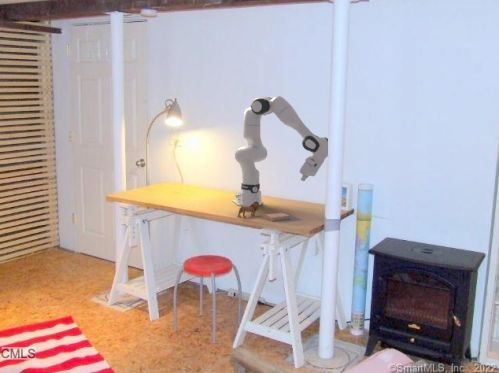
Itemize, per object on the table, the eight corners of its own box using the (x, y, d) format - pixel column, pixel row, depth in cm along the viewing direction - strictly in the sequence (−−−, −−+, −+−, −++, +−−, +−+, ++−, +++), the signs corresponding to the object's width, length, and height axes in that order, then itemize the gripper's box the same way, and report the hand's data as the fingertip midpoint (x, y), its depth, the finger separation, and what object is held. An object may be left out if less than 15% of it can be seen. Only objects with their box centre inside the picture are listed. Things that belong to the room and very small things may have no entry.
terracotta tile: (282, 216, 330) (265, 218, 324) (282, 212, 330) (265, 214, 324) (289, 219, 323) (271, 221, 318) (289, 215, 323) (272, 217, 317)
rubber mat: (264, 216, 330) (264, 216, 330) (286, 214, 337) (286, 213, 337) (279, 223, 314) (279, 222, 314) (302, 220, 322) (302, 219, 322)
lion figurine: (256, 214, 336) (257, 200, 334) (260, 216, 331) (261, 201, 330) (235, 216, 329) (235, 202, 327) (239, 218, 324) (239, 203, 323)
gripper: (316, 160, 348) (304, 178, 351) (305, 158, 329) (292, 176, 333) (324, 166, 345) (312, 183, 349) (313, 164, 327) (300, 182, 330)
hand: (302, 180), depth 340 cm, fingers closed
